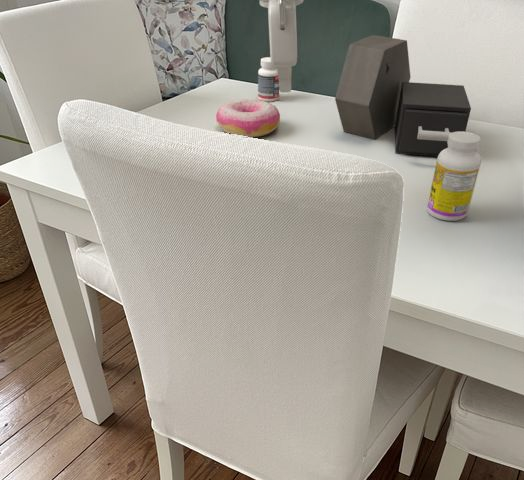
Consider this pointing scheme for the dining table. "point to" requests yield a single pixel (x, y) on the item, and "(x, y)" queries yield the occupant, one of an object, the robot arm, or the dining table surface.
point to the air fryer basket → (429, 129)
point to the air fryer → (429, 104)
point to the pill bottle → (268, 81)
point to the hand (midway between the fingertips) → (285, 80)
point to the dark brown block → (372, 85)
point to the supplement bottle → (455, 177)
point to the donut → (248, 117)
